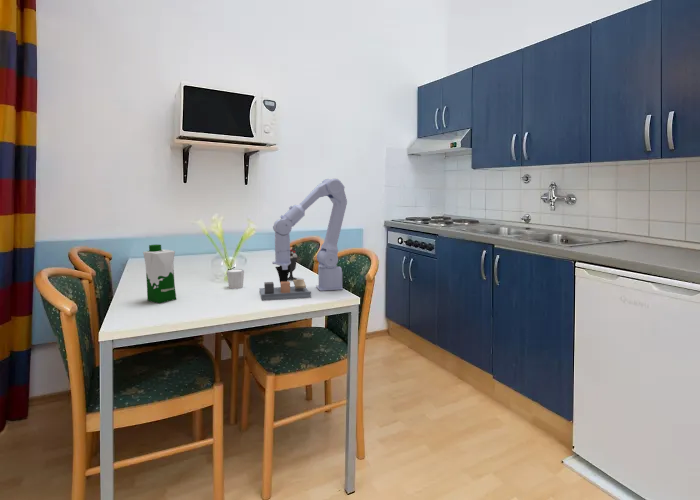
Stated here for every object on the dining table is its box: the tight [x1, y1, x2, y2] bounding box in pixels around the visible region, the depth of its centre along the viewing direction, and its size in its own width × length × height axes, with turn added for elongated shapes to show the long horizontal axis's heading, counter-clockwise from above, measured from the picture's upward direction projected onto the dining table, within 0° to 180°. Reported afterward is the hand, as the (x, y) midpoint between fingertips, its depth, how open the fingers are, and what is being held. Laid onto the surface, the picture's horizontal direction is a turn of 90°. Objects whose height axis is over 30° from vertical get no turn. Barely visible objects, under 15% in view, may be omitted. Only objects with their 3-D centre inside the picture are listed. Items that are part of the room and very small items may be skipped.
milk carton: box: [142, 244, 177, 304], centre depth 156 cm, size 9×9×20 cm
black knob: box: [263, 281, 275, 294], centre depth 160 cm, size 3×3×4 cm
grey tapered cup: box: [226, 268, 245, 290], centre depth 177 cm, size 7×7×7 cm
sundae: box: [287, 245, 299, 281], centre depth 193 cm, size 7×7×15 cm
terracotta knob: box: [280, 280, 291, 293], centre depth 162 cm, size 3×3×4 cm
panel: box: [259, 285, 312, 302], centre depth 166 cm, size 18×15×3 cm
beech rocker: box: [292, 278, 307, 288], centre depth 168 cm, size 4×6×1 cm, turn 15°
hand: (283, 284), depth 169 cm, fingers closed
